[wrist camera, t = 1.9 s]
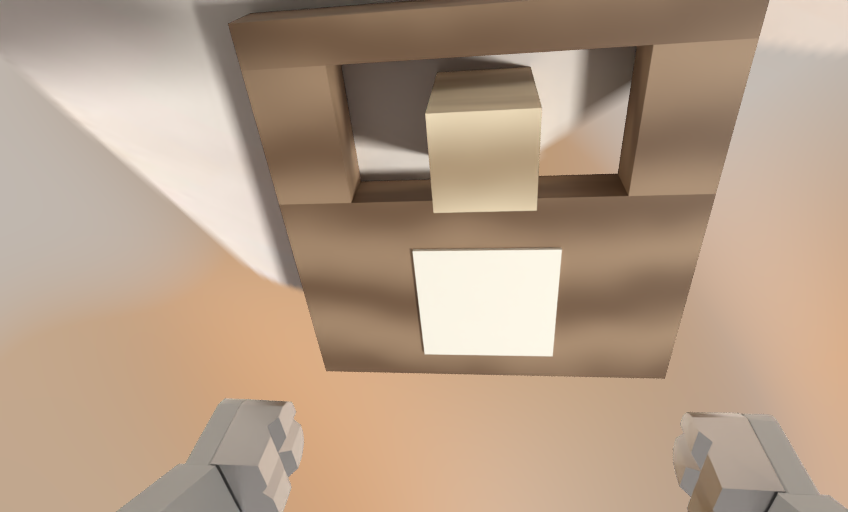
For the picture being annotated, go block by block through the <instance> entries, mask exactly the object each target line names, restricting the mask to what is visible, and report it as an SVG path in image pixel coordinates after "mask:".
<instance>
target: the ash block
mask: <svg viewBox="0 0 848 512" xmlns="http://www.w3.org/2000/svg"><path fill="white" fill-rule="evenodd" d="M541 115H542V107H541V103H540V99H539V96H538V92H537V89H536V85H535V81H534V78H533V74H532V70H531V67H520V68H504V69H487V70H470V71H453V72H437V75H436V78H435V82H434V85H433V89H432V92H431V95H430V99H429V102H428V106H427V109H426V113H425V118H426V130H427V141H428V153H429V165H430V177H431V189H432V200H433V212H434V213H453V212H497V211H537V195H538V173H539V155H540V135H541Z"/></svg>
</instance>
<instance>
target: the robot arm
mask: <svg viewBox="0 0 848 512" xmlns="http://www.w3.org/2000/svg"><path fill="white" fill-rule="evenodd" d="M295 413H296V411H295V408H294V405H293V403H292V402H284V401H267V400H250V399H226V398H225V399H224V400H223V401H221V402H220V403H219V404H218V406H217V408H216V410H215V411H214V413H213V415H212V416H211V418H210V420H209V422H208V424H207V426H206V427H205V429H204V431H203V433H202V434H201V437H200V438H199V440H198V442H197V443H196V445H195V447H194V449H193V451H192V452H191V454H190V456H189V458H188V460H187V461H186V463H185V464H178V465H176V466H175V467H174V468H173V469H171V470H170V471H169V472H167V473H166V474H165V475H163V476H162V477H161V478H159V479H158V480H157V481H156V482H154V483H153V484H152V485H150V486H149V487H148V488H147V489H145V490H144V491H143V492H141V493H140V494H139V495H137V496H136V497H135V498H133V499H132V500H131V501H130V502H128V503H127V504H126V505H124V506H123V507H122V508H120V509H119V510H118V511H116V512H283V510H284V507H285V505H286V501H287V499H288V496H289V493H290V490H291V484H290V482H289V479H288V477H289V476H290V475H291V474H292V473H293V472H294V471H295V470H297V469H298V467H299V464H300V461H301V457H302V453H303V445H304V438H303V431H302V428H301V425H300V424H299V423H298V422H296V421H295V420H294V416H295ZM680 425H681V427H682V430H683V434H682V435H680V436H679V437H677V438H676V440H675V444H674V448H673V464H674V469H675V474H676V477H677V480H678V483H679V486H680V487H681V488H682V489H683V490H684V491H685V492H686V493H687V494H688V495H689V496H690V497H691V499H690V502H689V504H688V507H687V510H688V512H848V509H847V508H845V507H844V506H843V505H841V504H840V503H839V502H838V501H836V500H835V499H834V498H832V497H831V496H829V495H820V493H819V492H818V490H817V488H816V486H815V485H814V483H813V481H812V480H811V478H810V476H809V474H808V473H807V471H806V469H805V468H804V466H803V464H802V462H801V461H800V459H799V457H798V456H797V454H796V452H795V451H794V449H793V447H792V445H791V444H790V442H789V440H788V439H787V437H786V435H785V434H784V432H783V430H782V428H781V426H780V425H779V423H778V421H777V420H776V419H775V418H774V417H773V416H772V415H768V414H739V413H703V412H701V413H700V412H687V413H686V414H684V415H683V418H682V420H681V423H680Z"/></svg>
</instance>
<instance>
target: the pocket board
mask: <svg viewBox="0 0 848 512" xmlns="http://www.w3.org/2000/svg"><path fill="white" fill-rule="evenodd" d="M768 3H769V0H415V1H402V2H390V3H377V4H364V5H352V6H339V7H326V8H314V9H301V10H288V11H276V12H263V13H250V14H248V15H246V16H244V17H241V18H239V19H237V20H235V21H233V22H231V23H228V26H229V29H230V33H231V36H232V40H233V43H234V47H235V50H236V54H237V57H238V61H239V65H240V68H241V72H242V75H243V79H244V82H245V86H246V89H247V93H248V96H249V100H250V103H251V107H252V110H253V114H254V118H255V121H256V125H257V128H258V132H259V135H260V139H261V142H262V146H263V149H264V153H265V156H266V160H267V163H268V167H269V171H270V174H271V178H272V181H273V185H274V188H275V192H276V195H277V199H278V202H279V206H280V209H281V213H282V216H283V220H284V224H285V227H286V231H287V234H288V238H289V241H290V245H291V248H292V252H293V255H294V259H295V262H296V266H297V269H298V273H299V277H300V280H301V284H302V287H303V291H304V294H305V297H306V301H307V305H308V308H309V312H310V315H311V319H312V322H313V326H314V329H315V333H316V337H317V340H318V344H319V347H320V351H321V354H322V357H323V361H324V365H325V368H326V371H344V372H346V371H347V372H392V373H436V374H482V375H527V376H528V375H530V376H574V377H619V378H621V377H622V378H665V376H666V372H667V369H668V365H669V361H670V358H671V354H672V350H673V347H674V343H675V340H676V336H677V333H678V329H679V325H680V321H681V318H682V314H683V311H684V307H685V304H686V300H687V296H688V293H689V289H690V285H691V282H692V278H693V275H694V271H695V267H696V264H697V260H698V257H699V253H700V249H701V245H702V242H703V238H704V235H705V231H706V228H707V224H708V220H709V217H710V213H711V210H712V206H713V202H714V199H715V195H716V191H717V188H718V184H719V181H720V177H721V173H722V170H723V166H724V162H725V159H726V155H727V152H728V148H729V144H730V141H731V137H732V133H733V130H734V126H735V122H736V119H737V115H738V112H739V108H740V105H741V101H742V97H743V93H744V90H745V87H746V83H747V79H748V75H749V72H750V68H751V65H752V61H753V58H754V54H755V50H756V47H757V43H758V40H759V36H760V32H761V29H762V25H763V21H764V18H765V14H766V11H767V7H768ZM628 46H637V48H636V54H635V61H634V68H633V75H632V81H631V88H630V95H629V102H628V108H627V115H626V123H625V129H624V136H623V143H622V149H621V157H620V163H619V169H618V174H592V175H561V176H538V195H537V211H497V212H453V213H434V212H433V200H432V189H431V179H428V180H395V181H362V182H361V178H360V172H359V166H358V161H357V155H356V149H355V143H354V137H353V132H352V126H351V120H350V114H349V108H348V103H347V97H346V91H345V85H344V79H343V74H342V68H341V65H342V64H358V63H374V62H390V61H406V60H421V59H437V58H453V57H469V56H485V55H501V54H517V53H533V52H549V51H564V50H580V49H596V48H612V47H628Z"/></svg>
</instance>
